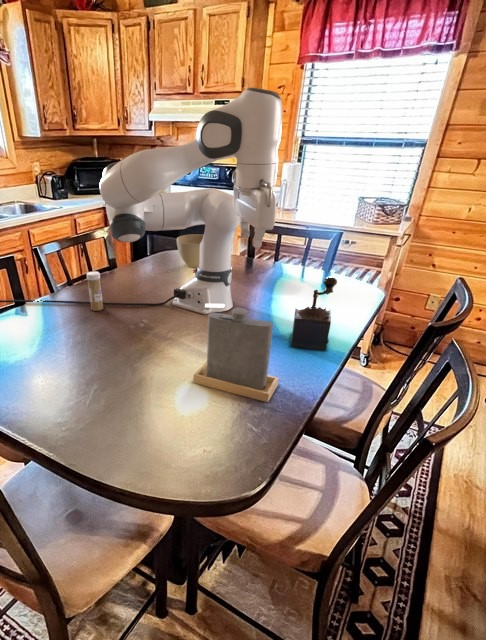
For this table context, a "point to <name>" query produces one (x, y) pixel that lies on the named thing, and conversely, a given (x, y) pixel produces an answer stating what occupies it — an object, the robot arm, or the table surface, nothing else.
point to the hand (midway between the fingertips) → (250, 241)
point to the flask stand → (262, 395)
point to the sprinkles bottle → (95, 290)
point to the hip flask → (238, 349)
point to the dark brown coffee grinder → (313, 322)
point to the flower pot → (190, 249)
